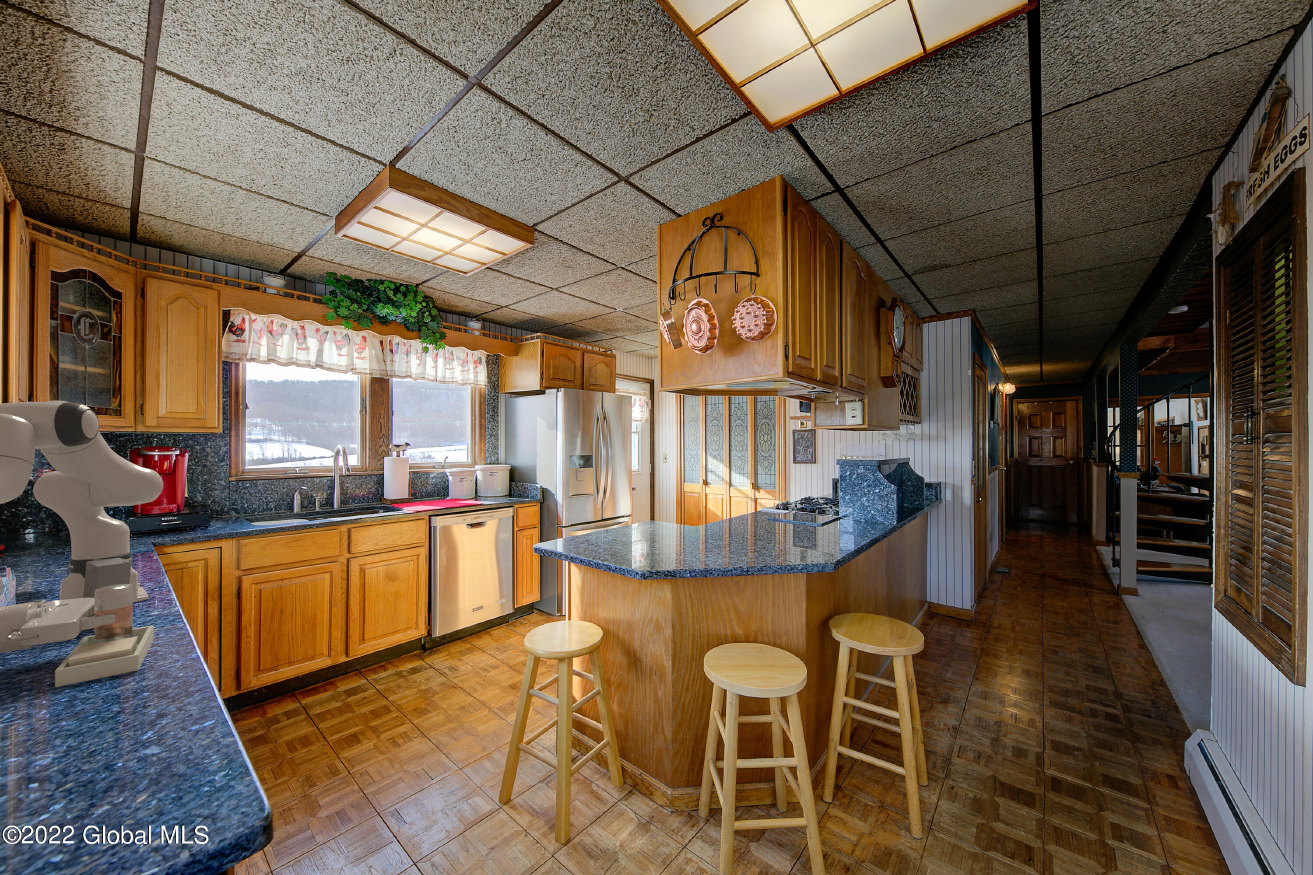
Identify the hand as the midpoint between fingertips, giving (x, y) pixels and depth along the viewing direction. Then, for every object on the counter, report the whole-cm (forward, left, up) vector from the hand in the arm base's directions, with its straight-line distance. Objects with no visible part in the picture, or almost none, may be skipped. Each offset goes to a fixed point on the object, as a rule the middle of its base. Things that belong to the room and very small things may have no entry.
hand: (120, 611), depth 108 cm
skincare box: (-32, -7, -10) cm, 35 cm away
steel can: (0, -1, -9) cm, 9 cm away
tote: (+5, -1, -10) cm, 11 cm away
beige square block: (+9, -1, -9) cm, 13 cm away
